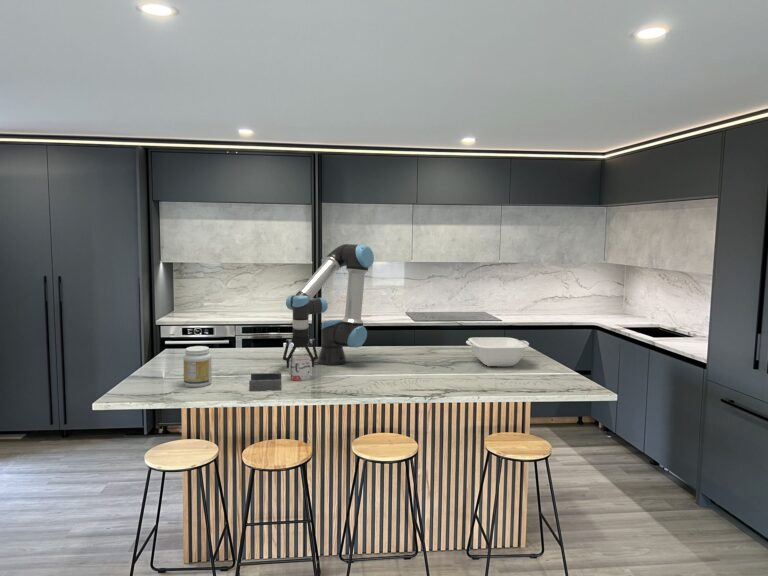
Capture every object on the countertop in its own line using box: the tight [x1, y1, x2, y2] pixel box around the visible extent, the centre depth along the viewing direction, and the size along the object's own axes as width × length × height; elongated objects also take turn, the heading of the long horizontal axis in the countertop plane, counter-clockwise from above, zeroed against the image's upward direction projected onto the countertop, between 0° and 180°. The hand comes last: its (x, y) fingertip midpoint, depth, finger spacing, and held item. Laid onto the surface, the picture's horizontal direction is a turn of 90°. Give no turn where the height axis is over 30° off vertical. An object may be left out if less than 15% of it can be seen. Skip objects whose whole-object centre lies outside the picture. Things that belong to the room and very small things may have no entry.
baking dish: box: [465, 336, 530, 367], centre depth 315 cm, size 34×28×13 cm
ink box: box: [290, 353, 311, 382], centre depth 276 cm, size 9×5×12 cm, turn 117°
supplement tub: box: [183, 345, 213, 388], centre depth 264 cm, size 12×12×17 cm
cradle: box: [248, 372, 282, 392], centre depth 263 cm, size 14×14×4 cm
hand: (300, 373), depth 276 cm, fingers closed on ink box, 9 cm apart
